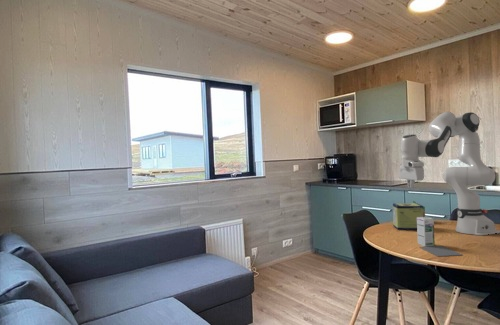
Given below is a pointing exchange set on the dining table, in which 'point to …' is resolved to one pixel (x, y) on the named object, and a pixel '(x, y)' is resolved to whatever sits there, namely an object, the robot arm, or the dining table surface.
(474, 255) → the dining table surface
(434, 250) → the mat
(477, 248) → the dining table surface
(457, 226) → the robot arm
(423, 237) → the syrup box
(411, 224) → the protein box
